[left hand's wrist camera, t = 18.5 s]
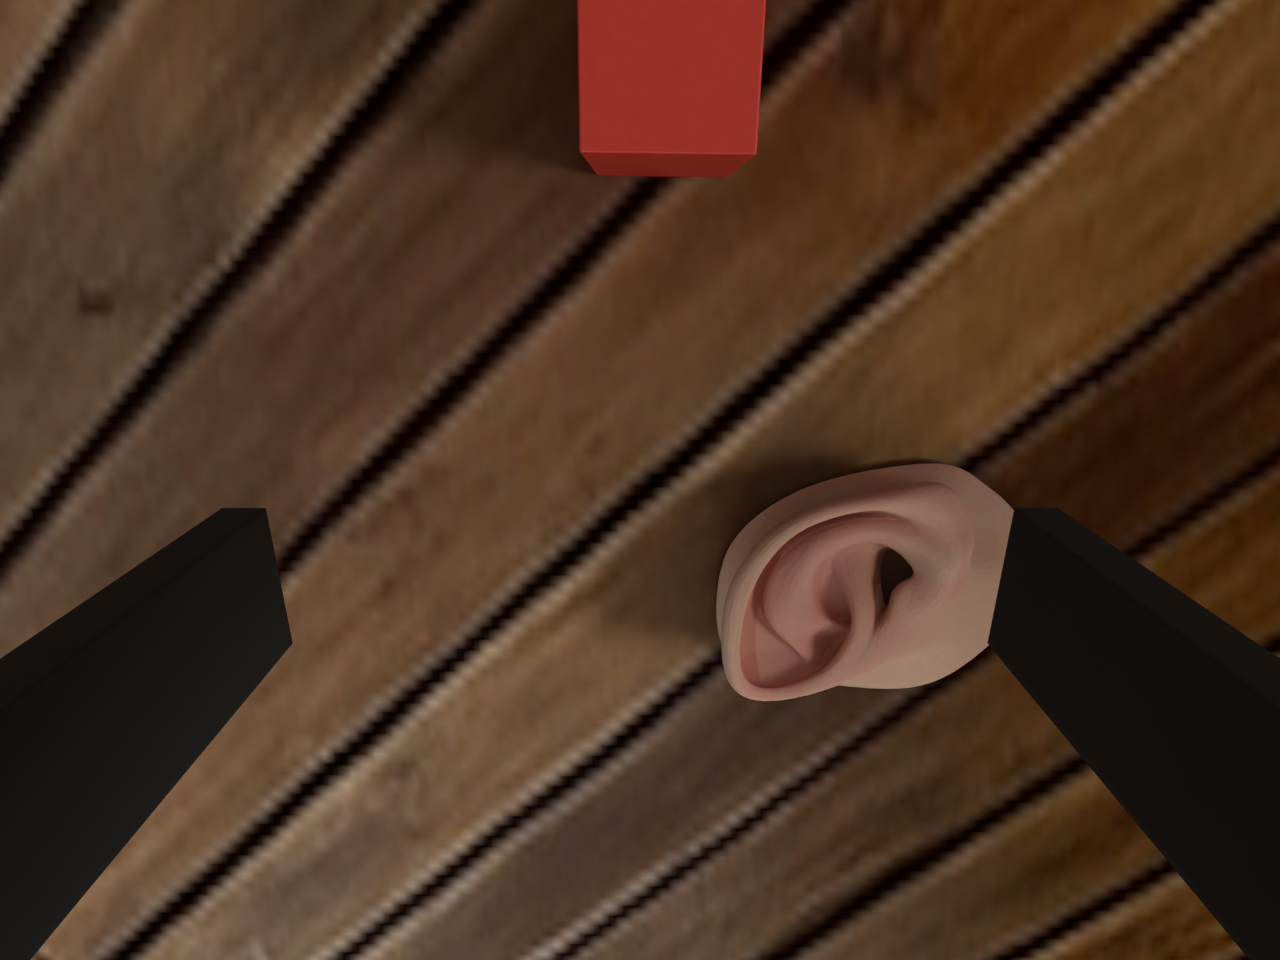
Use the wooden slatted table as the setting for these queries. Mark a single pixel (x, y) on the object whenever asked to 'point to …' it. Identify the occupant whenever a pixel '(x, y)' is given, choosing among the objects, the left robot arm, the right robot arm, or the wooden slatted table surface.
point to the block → (669, 85)
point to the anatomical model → (863, 583)
